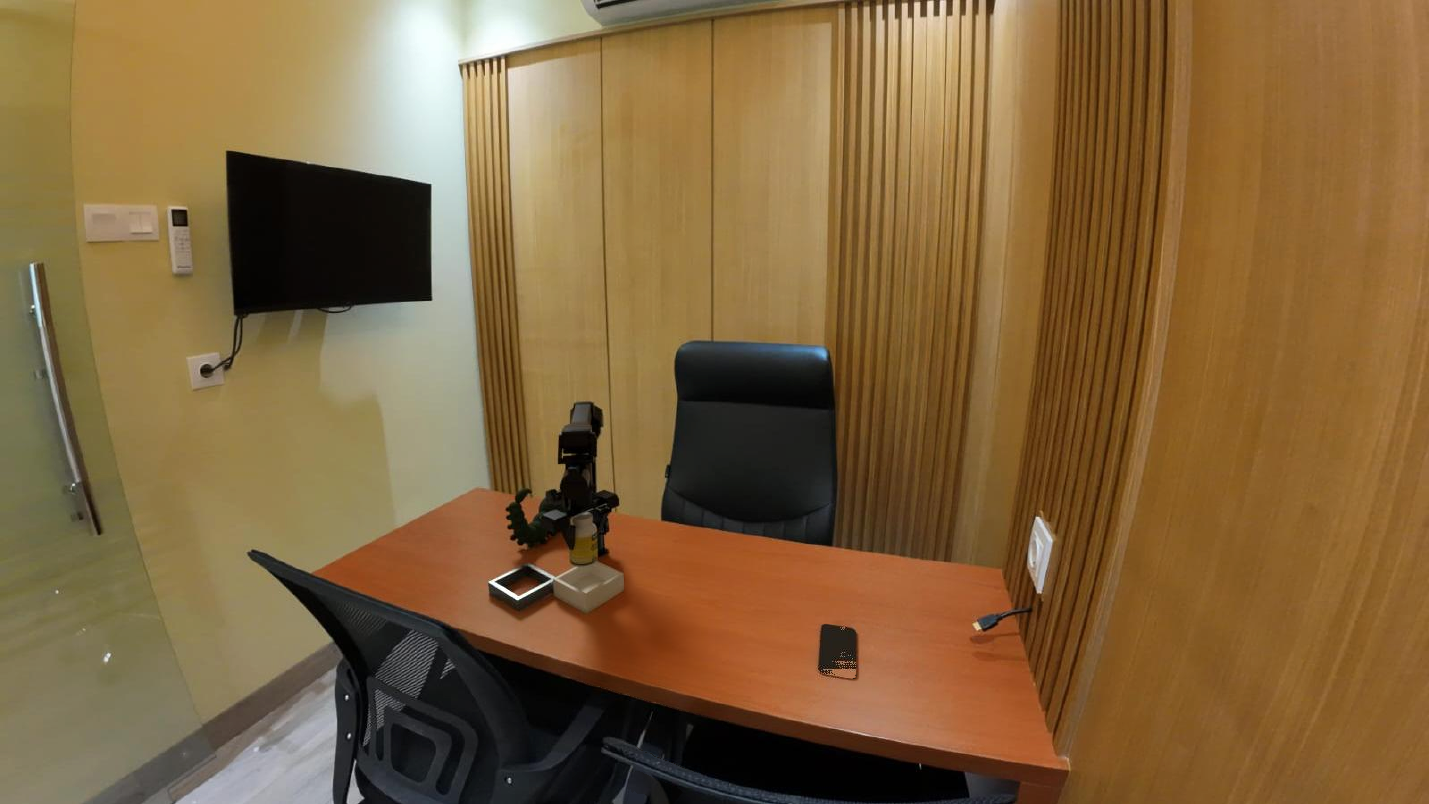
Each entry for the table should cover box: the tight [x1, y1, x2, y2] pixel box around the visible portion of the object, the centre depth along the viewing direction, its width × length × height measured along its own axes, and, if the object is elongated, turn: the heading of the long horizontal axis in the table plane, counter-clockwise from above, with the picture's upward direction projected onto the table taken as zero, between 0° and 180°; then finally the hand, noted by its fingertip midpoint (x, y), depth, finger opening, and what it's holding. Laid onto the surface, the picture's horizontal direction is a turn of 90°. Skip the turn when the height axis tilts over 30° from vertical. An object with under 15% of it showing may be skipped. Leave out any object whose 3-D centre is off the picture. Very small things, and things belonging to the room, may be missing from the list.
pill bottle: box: [568, 512, 599, 568], centre depth 125 cm, size 6×6×12 cm
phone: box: [817, 623, 858, 675], centre depth 109 cm, size 7×1×15 cm
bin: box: [553, 560, 625, 615], centre depth 128 cm, size 12×12×4 cm
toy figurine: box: [505, 487, 568, 549], centre depth 153 cm, size 9×19×25 cm
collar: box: [487, 562, 556, 612], centre depth 128 cm, size 11×12×3 cm
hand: (583, 543), depth 125 cm, fingers closed on pill bottle, 6 cm apart
